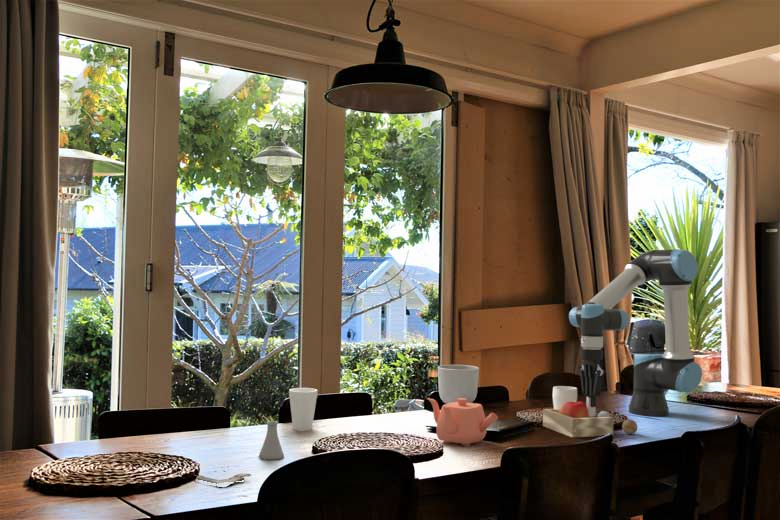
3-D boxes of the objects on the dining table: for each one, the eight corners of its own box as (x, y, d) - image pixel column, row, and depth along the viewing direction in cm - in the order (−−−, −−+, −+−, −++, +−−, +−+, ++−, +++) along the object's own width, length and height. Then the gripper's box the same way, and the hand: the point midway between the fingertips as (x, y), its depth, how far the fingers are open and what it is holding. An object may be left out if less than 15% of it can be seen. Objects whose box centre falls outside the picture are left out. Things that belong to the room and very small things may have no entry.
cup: (574, 418, 289) (575, 386, 289) (578, 422, 280) (579, 390, 280) (550, 417, 290) (551, 385, 290) (553, 421, 281) (554, 389, 281)
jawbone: (235, 493, 185) (235, 485, 185) (160, 486, 190) (160, 478, 190) (251, 480, 194) (251, 472, 194) (179, 474, 199) (179, 466, 199)
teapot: (442, 449, 232) (443, 404, 232) (425, 436, 250) (426, 394, 250) (498, 448, 236) (499, 403, 236) (478, 435, 254) (479, 393, 254)
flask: (259, 454, 221) (260, 419, 221) (285, 454, 221) (285, 419, 221) (257, 460, 213) (258, 424, 214) (283, 460, 214) (284, 424, 214)
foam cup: (321, 427, 260) (322, 389, 260) (307, 432, 252) (308, 393, 252) (297, 424, 264) (298, 387, 264) (282, 429, 256) (283, 390, 256)
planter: (433, 400, 321) (434, 364, 321) (473, 401, 323) (474, 364, 323) (440, 408, 304) (441, 369, 304) (482, 408, 306) (483, 370, 306)
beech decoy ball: (631, 432, 265) (631, 417, 265) (640, 435, 260) (640, 420, 261) (619, 432, 264) (619, 418, 264) (628, 435, 259) (628, 421, 259)
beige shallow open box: (581, 424, 277) (582, 407, 277) (613, 435, 259) (613, 417, 259) (542, 426, 272) (543, 409, 272) (572, 437, 254) (572, 419, 254)
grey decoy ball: (605, 422, 283) (605, 409, 283) (612, 424, 278) (613, 412, 278) (595, 422, 281) (595, 410, 281) (602, 425, 277) (602, 412, 277)
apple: (583, 427, 272) (584, 399, 272) (590, 433, 262) (591, 403, 262) (556, 426, 271) (556, 398, 272) (562, 432, 262) (563, 403, 262)
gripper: (572, 346, 273) (571, 412, 273) (593, 350, 260) (592, 419, 260) (590, 346, 275) (589, 411, 275) (612, 350, 263) (611, 418, 263)
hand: (590, 415), depth 268 cm, fingers closed
